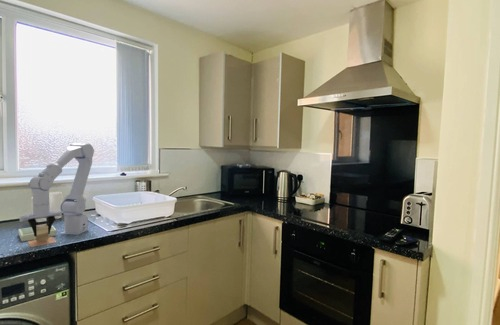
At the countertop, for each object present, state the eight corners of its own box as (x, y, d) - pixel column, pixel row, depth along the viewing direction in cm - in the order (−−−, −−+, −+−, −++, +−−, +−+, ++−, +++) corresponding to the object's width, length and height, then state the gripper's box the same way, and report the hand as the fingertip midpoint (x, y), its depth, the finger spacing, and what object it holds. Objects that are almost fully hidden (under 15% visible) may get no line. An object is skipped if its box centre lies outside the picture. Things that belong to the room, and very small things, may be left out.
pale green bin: (56, 236, 128) (56, 229, 128) (21, 242, 119) (21, 235, 119) (51, 230, 137) (51, 224, 137) (18, 235, 128) (18, 229, 128)
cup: (45, 219, 156) (44, 194, 155) (54, 221, 152) (53, 196, 151) (27, 223, 148) (27, 197, 147) (36, 225, 145) (35, 198, 144)
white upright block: (60, 216, 164) (60, 191, 163) (64, 218, 160) (64, 192, 159) (47, 218, 159) (46, 192, 158) (50, 220, 154) (50, 194, 154)
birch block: (48, 239, 120) (48, 225, 120) (36, 241, 117) (36, 227, 117) (46, 237, 123) (46, 224, 122) (35, 239, 120) (35, 225, 119)
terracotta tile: (56, 242, 120) (56, 241, 120) (30, 248, 113) (30, 246, 113) (52, 237, 126) (52, 236, 126) (27, 242, 120) (27, 241, 120)
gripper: (59, 200, 127) (59, 229, 127) (18, 204, 116) (19, 236, 117) (62, 202, 122) (63, 232, 122) (20, 207, 111) (21, 240, 112)
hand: (42, 234), depth 119 cm, fingers closed on birch block, 4 cm apart
